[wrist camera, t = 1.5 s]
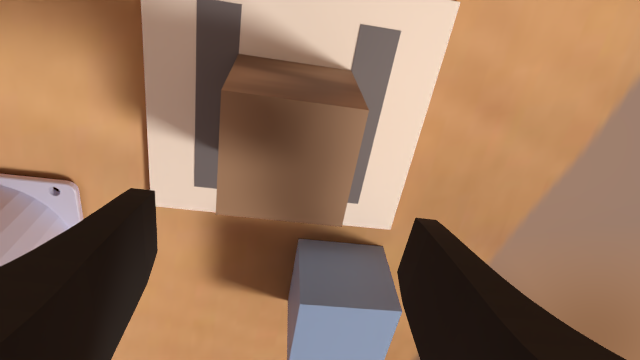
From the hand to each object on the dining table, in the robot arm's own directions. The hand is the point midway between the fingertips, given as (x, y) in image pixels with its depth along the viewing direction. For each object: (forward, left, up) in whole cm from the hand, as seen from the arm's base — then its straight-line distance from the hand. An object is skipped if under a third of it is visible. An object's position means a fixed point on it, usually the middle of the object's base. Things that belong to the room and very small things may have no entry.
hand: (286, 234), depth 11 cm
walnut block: (0, 0, -9) cm, 9 cm away
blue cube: (+4, -10, -10) cm, 14 cm away
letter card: (0, 0, -9) cm, 9 cm away
